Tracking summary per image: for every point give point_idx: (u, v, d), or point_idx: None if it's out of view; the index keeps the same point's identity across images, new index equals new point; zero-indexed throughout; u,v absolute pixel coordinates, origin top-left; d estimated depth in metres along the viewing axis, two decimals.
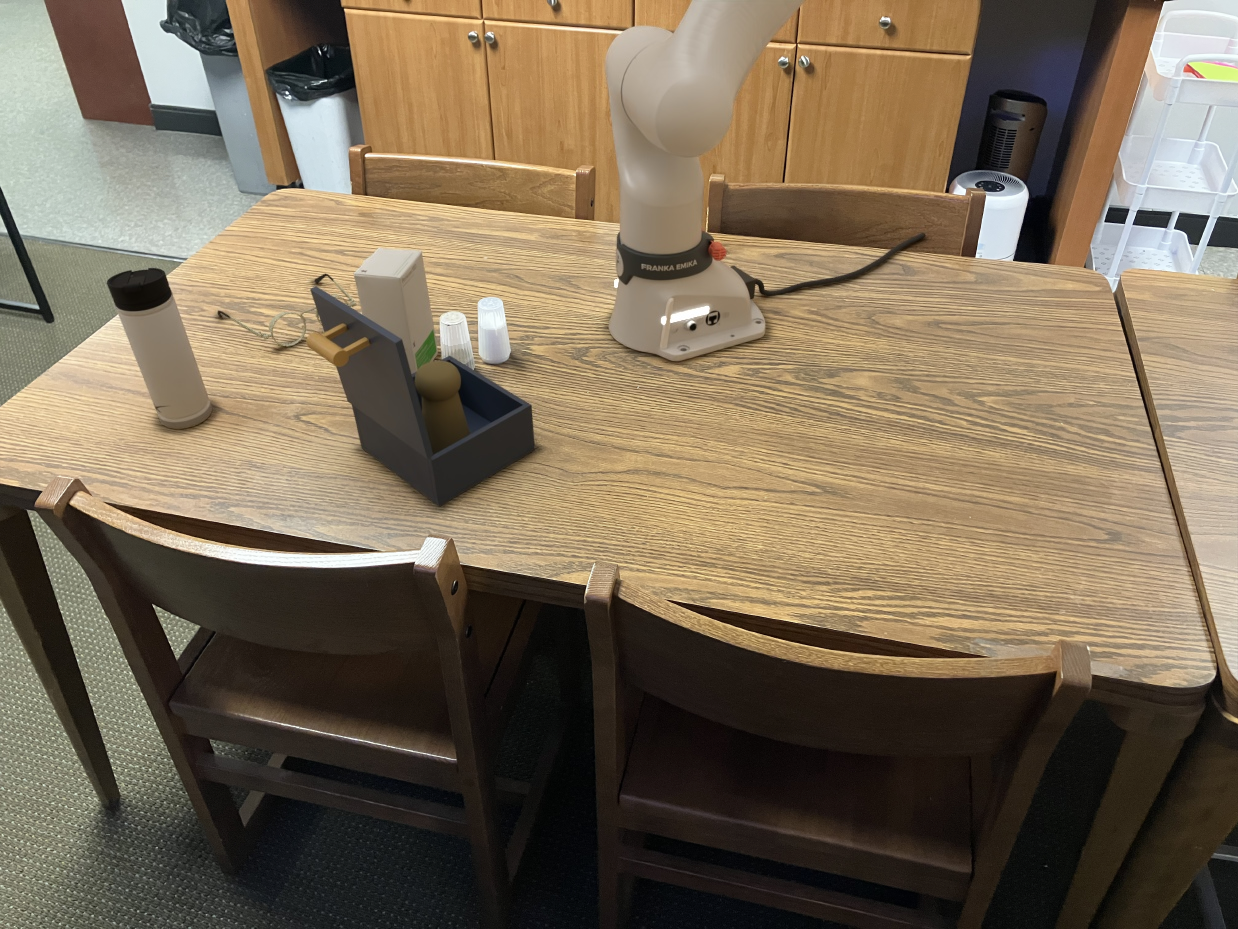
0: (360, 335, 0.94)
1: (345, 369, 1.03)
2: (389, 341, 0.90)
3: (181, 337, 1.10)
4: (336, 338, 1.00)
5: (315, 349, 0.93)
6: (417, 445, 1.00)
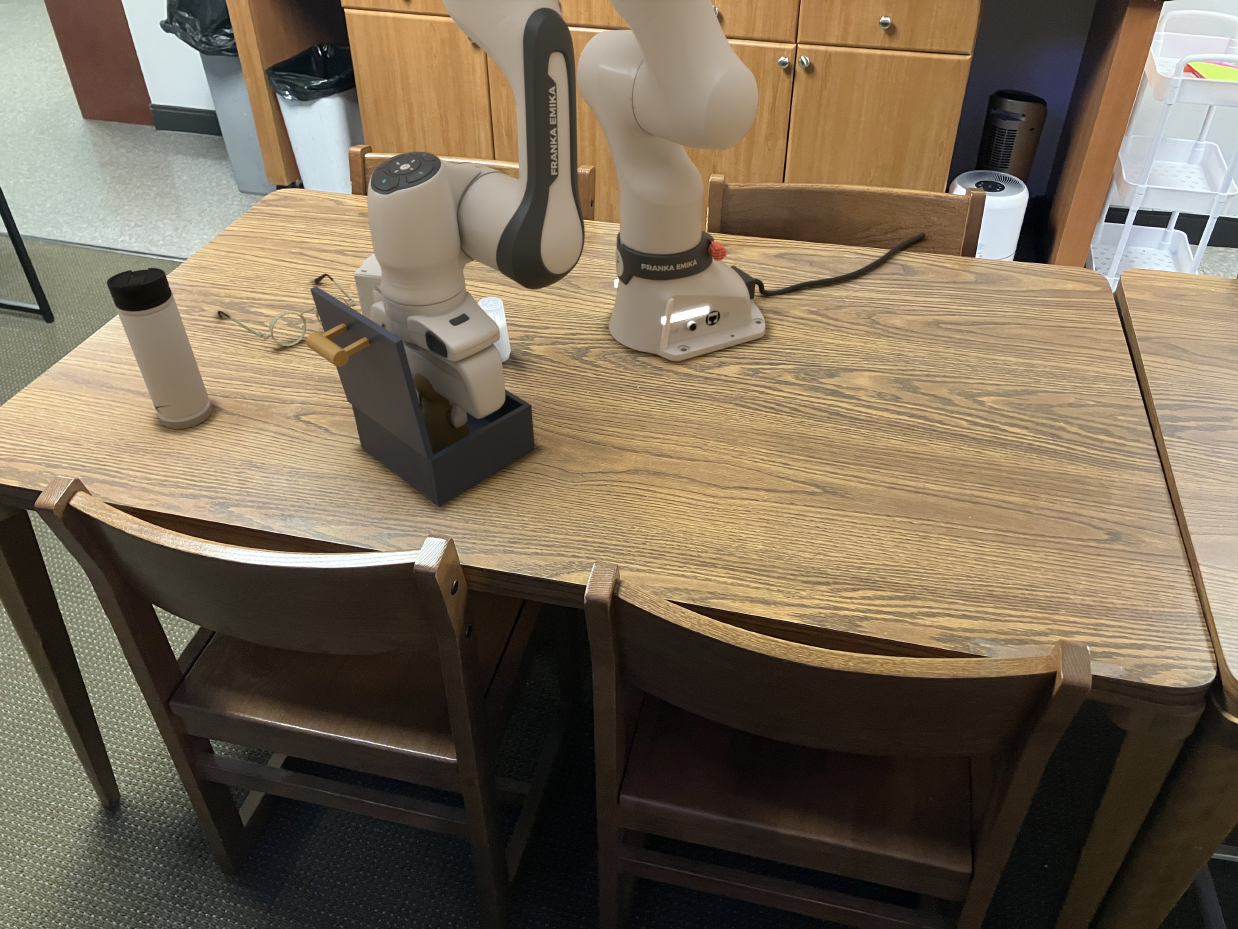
0: (360, 335, 0.94)
1: (345, 369, 1.03)
2: (389, 341, 0.90)
3: (181, 337, 1.10)
4: (336, 338, 1.00)
5: (315, 349, 0.93)
6: (417, 445, 1.00)
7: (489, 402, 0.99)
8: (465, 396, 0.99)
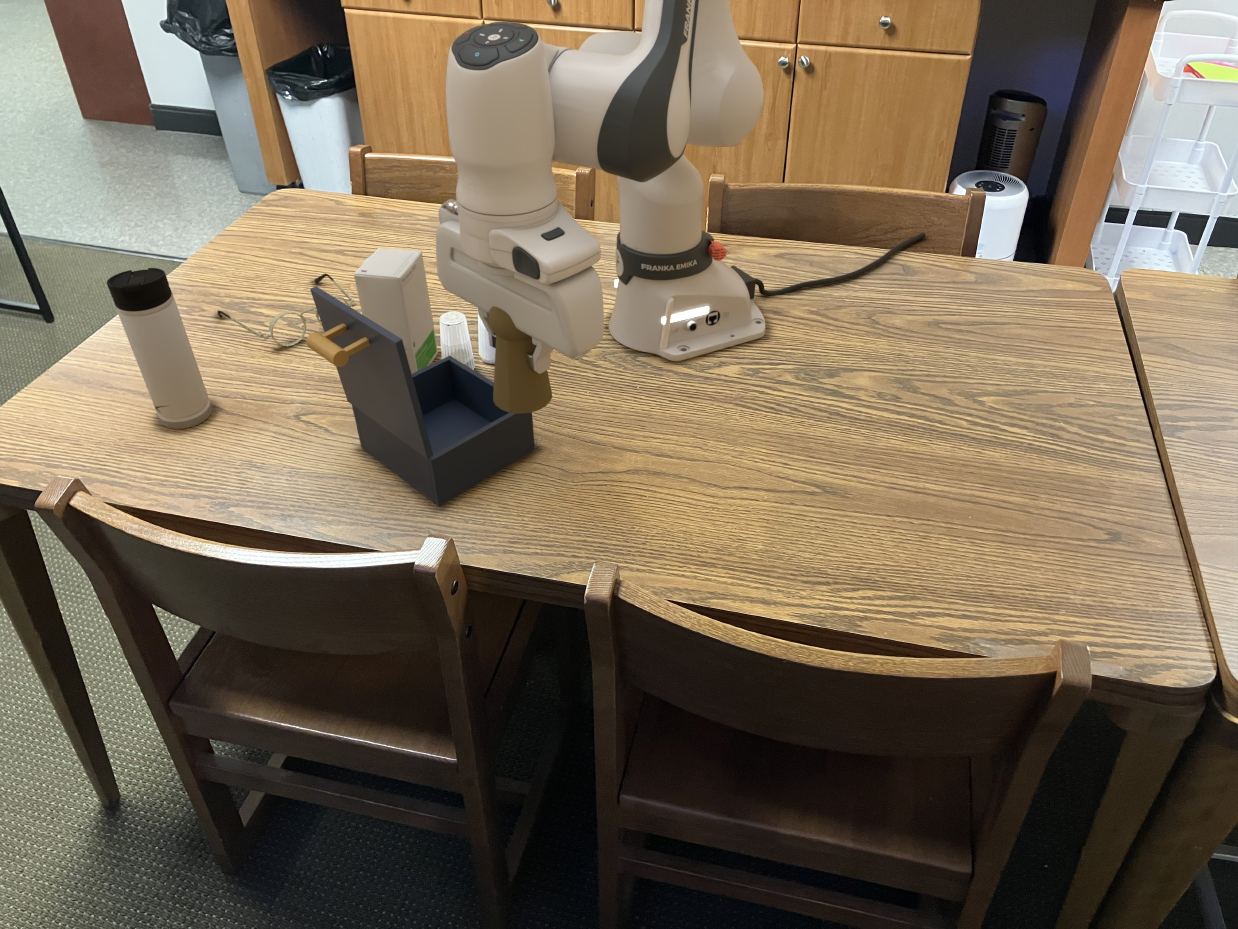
0: (360, 335, 0.94)
1: (345, 369, 1.03)
2: (389, 341, 0.90)
3: (181, 337, 1.10)
4: (336, 338, 1.00)
5: (315, 349, 0.93)
6: (417, 445, 1.00)
7: (586, 337, 0.82)
8: (557, 330, 0.82)
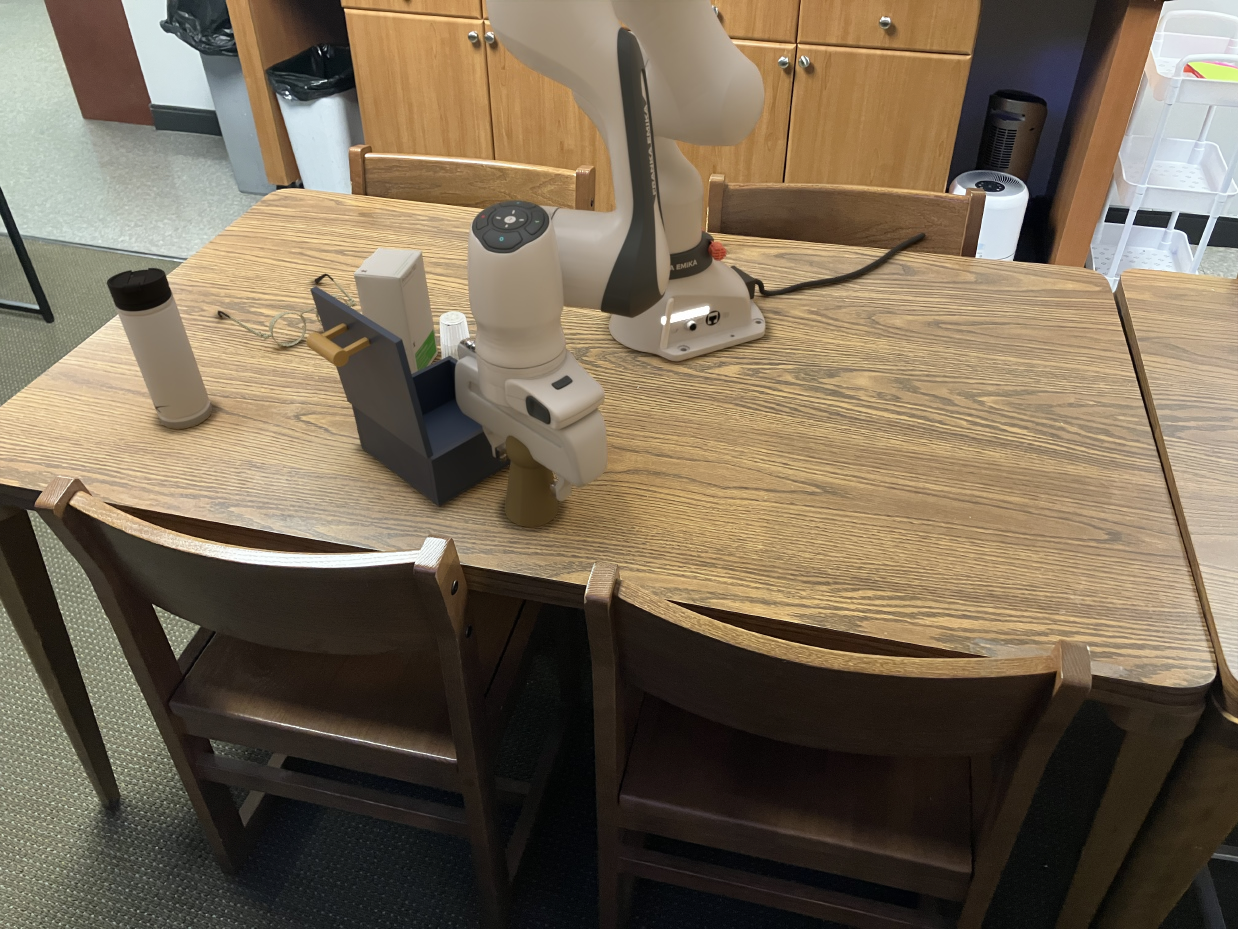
0: (360, 335, 0.94)
1: (345, 369, 1.03)
2: (389, 341, 0.90)
3: (181, 337, 1.10)
4: (336, 338, 1.00)
5: (315, 349, 0.93)
6: (417, 445, 1.00)
7: (592, 470, 0.91)
8: (565, 464, 0.91)
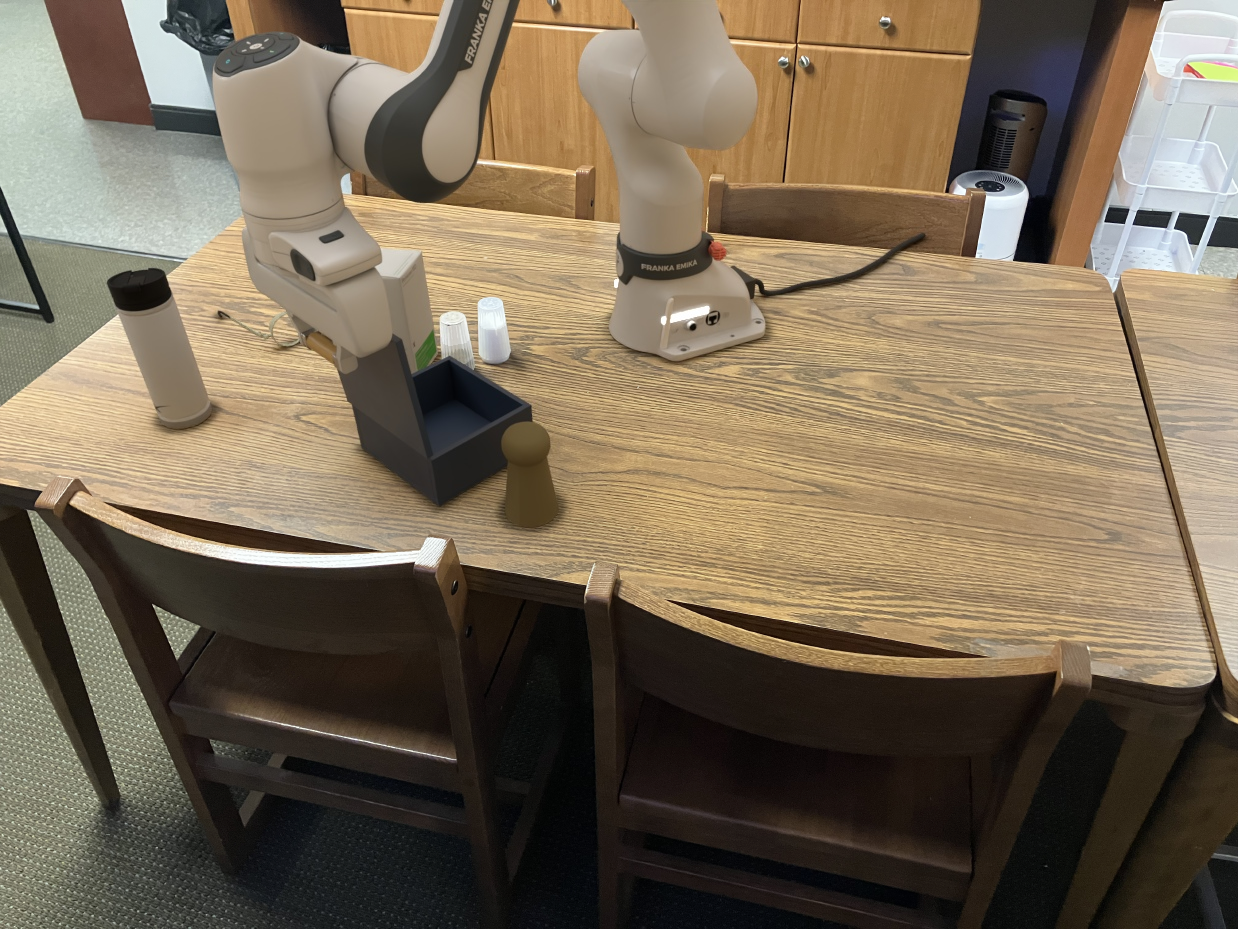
0: None
1: None
2: None
3: (181, 337, 1.10)
4: None
5: (315, 349, 0.93)
6: (417, 445, 1.00)
7: (371, 337, 0.84)
8: (343, 330, 0.84)
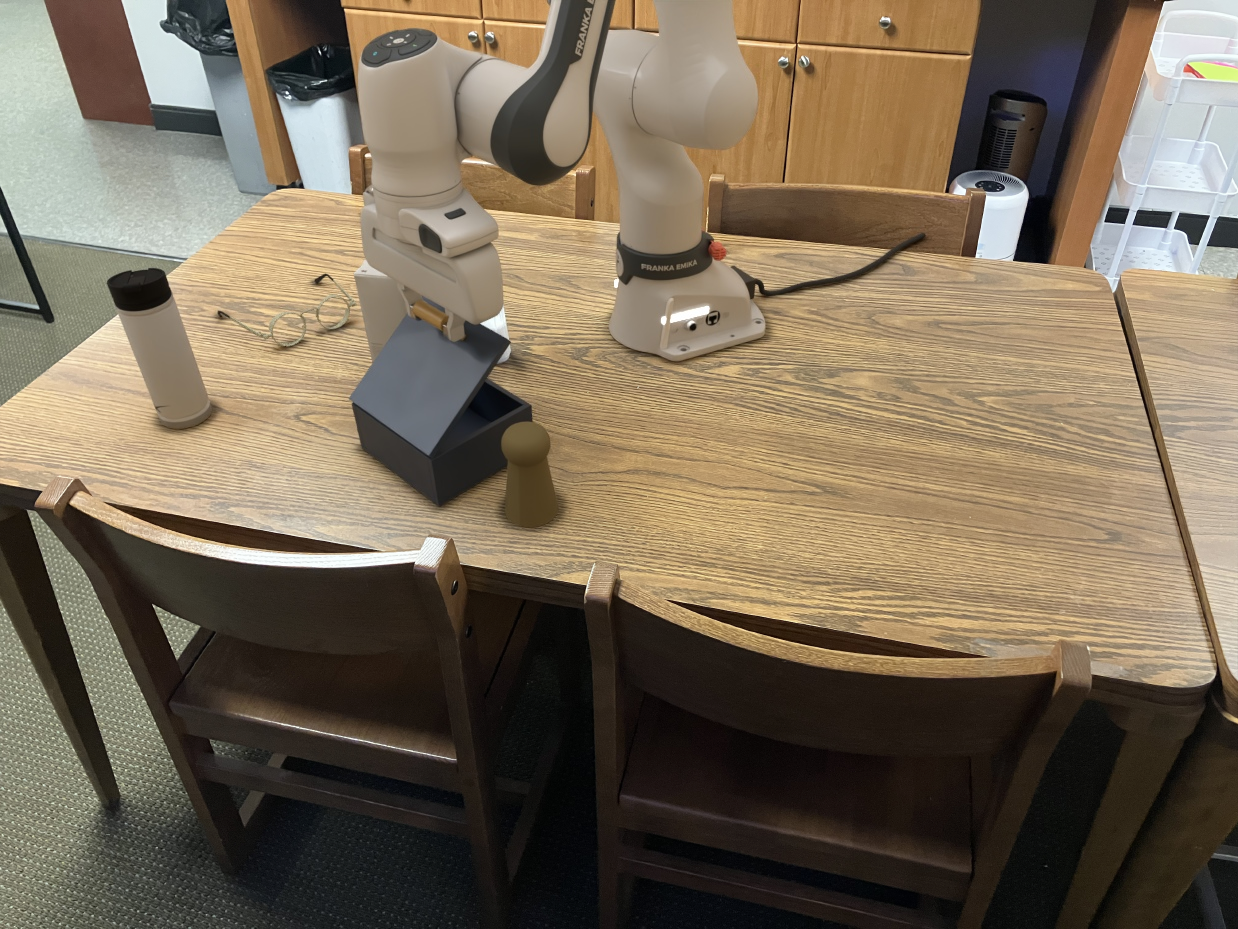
0: None
1: (387, 365, 1.07)
2: (498, 337, 1.01)
3: (181, 337, 1.10)
4: (410, 335, 1.07)
5: (424, 308, 1.01)
6: (426, 441, 1.00)
7: (486, 305, 0.93)
8: (461, 299, 0.93)
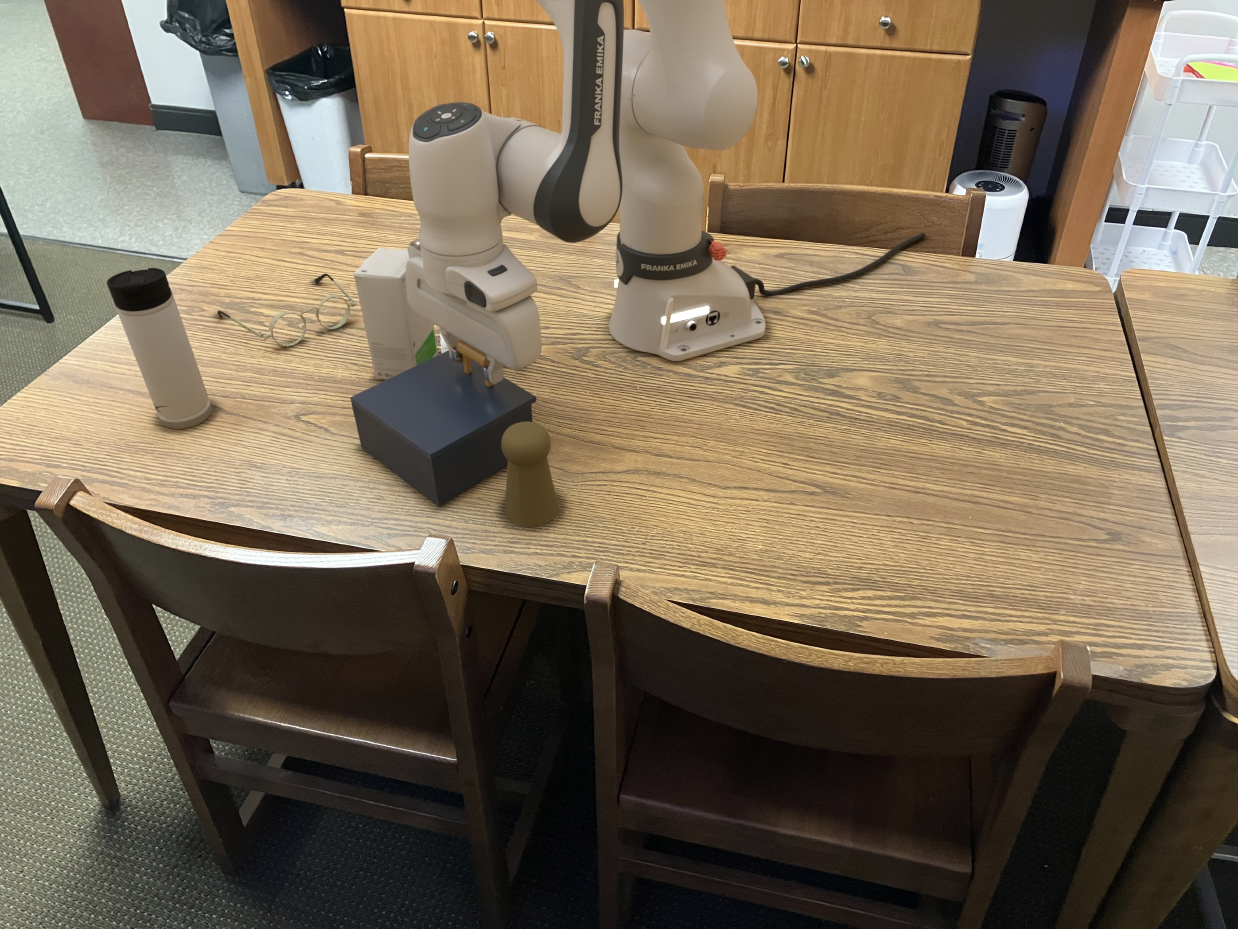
0: (483, 380, 1.10)
1: (402, 384, 1.10)
2: (527, 393, 1.08)
3: (181, 337, 1.10)
4: (433, 371, 1.12)
5: None
6: (430, 443, 1.01)
7: (526, 353, 1.00)
8: (502, 348, 1.00)
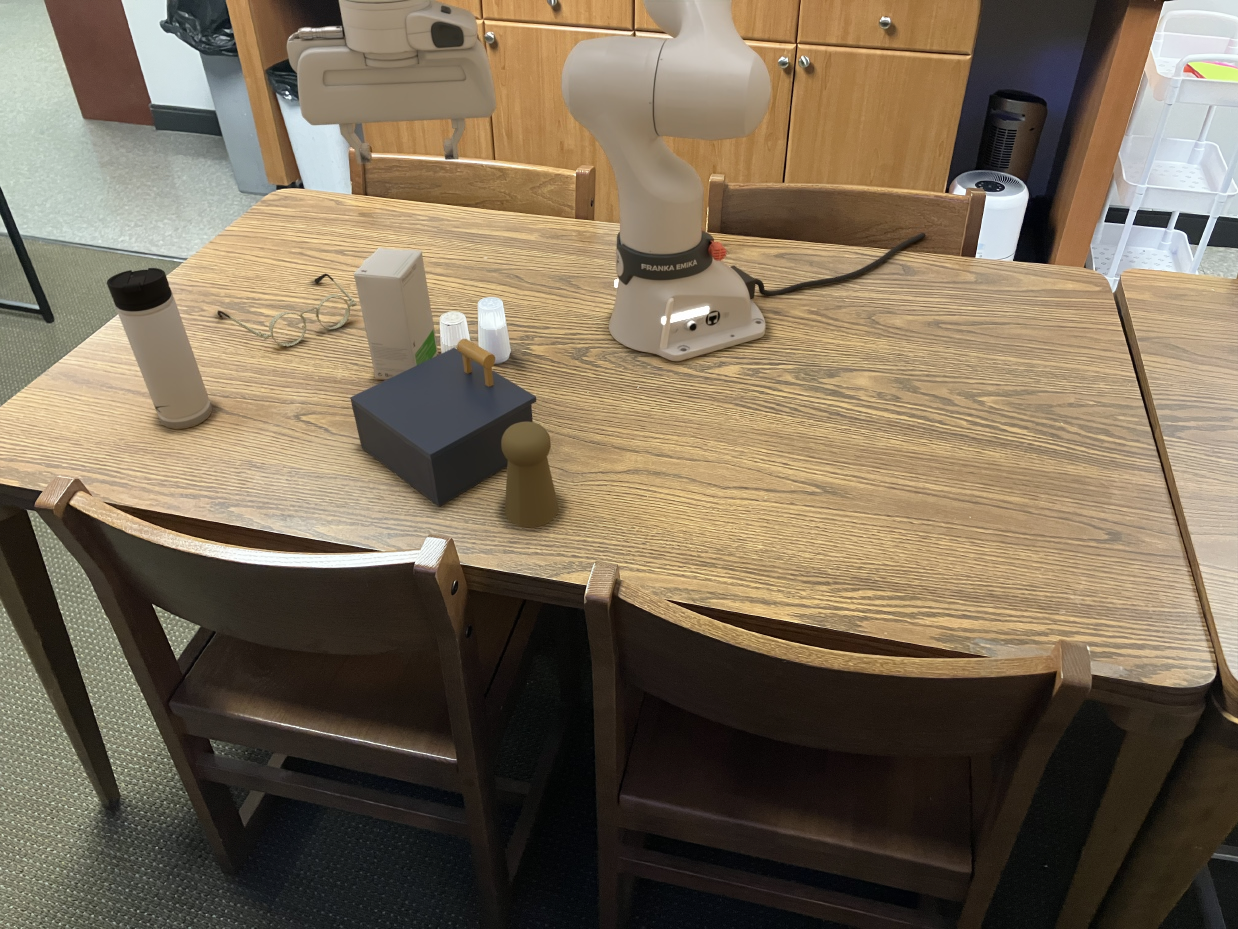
0: (483, 380, 1.10)
1: (402, 384, 1.10)
2: (527, 393, 1.08)
3: (181, 337, 1.10)
4: (433, 371, 1.12)
5: (471, 344, 1.09)
6: (430, 443, 1.01)
7: None
8: (473, 95, 0.97)
